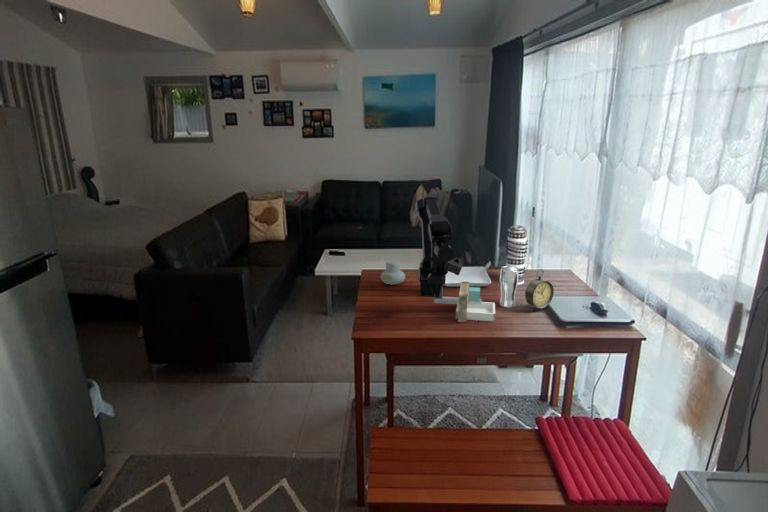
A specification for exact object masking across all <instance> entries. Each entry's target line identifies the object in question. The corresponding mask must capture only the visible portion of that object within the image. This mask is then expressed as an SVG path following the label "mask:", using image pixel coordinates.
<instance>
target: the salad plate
mask: <svg viewBox="0 0 768 512" xmlns="http://www.w3.org/2000/svg"><path fill="white" fill-rule="evenodd" d="M461 282H469V287H477V288H481V287H487V286H490V285H491V284H492V280H491V278H490V276H489V273H488V272H487V270H486V267H485V266H462V269H461V271H460V274H459V275H455V274H454V273H451V272H449V271H448V273H447V274H446V282H445V284H443V286H445V287H451V288H455V287H456V288H460V286H461Z"/></svg>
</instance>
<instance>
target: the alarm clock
mask: <svg viewBox="0 0 768 512" xmlns="http://www.w3.org/2000/svg"><path fill="white" fill-rule="evenodd" d="M540 270H541V271H542V273H541V275H539V274H538V273H539V271H540ZM543 275H544V270H543V268H539V269H538V270H537V272H536V277H537V278H534V279H533V280H531V281H529V283H528V284H527V286H526V289H525V293H524V296H525V297H524V298H525V301H526V303H527V304H528V305H529V306H531V309H530V311H529V312H530V313H533V310H534V308H535V309H539V310H541V309H544V308H546V307H547V305H548V306H549V304H551V302H552V300H553V298H554V293H555V291H554V290H555V289H554V286H553V284H552V282H551V281H549V280H546V279H543V278H542V276H543Z"/></svg>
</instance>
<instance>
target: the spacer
mask: <svg viewBox="0 0 768 512" xmlns="http://www.w3.org/2000/svg"><path fill="white" fill-rule="evenodd" d="M480 299H481V287H469V301H475V302H480Z"/></svg>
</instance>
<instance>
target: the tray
mask: <svg viewBox="0 0 768 512" xmlns="http://www.w3.org/2000/svg"><path fill="white" fill-rule="evenodd" d="M458 311H459V304H456V309H455V319H456V320H458ZM478 320H479V321H481V322H493V323H494V322H495V321H496V303H495V302H489V301H482V304H481V306H475V305H467V321H478Z"/></svg>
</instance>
